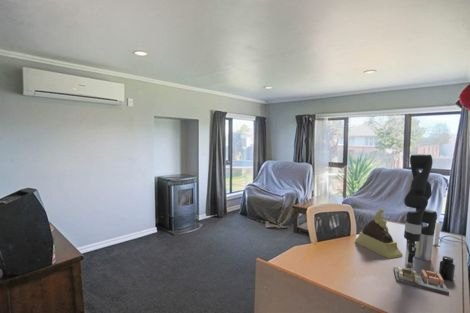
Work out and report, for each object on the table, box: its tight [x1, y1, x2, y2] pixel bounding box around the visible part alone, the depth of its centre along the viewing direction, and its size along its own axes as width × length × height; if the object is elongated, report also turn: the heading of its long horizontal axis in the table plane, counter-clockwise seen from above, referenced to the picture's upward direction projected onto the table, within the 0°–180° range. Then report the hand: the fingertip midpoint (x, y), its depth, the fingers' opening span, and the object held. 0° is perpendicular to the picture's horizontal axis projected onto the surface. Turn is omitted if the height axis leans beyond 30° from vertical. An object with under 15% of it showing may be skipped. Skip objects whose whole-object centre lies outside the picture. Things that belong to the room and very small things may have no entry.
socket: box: [420, 269, 445, 286], centre depth 146 cm, size 8×8×3 cm
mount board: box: [393, 266, 450, 296], centre depth 147 cm, size 16×23×4 cm
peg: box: [404, 248, 415, 270], centre depth 147 cm, size 4×4×10 cm
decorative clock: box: [355, 208, 404, 259], centre depth 188 cm, size 28×13×30 cm, turn 22°
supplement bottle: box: [438, 255, 456, 282], centre depth 152 cm, size 7×7×12 cm
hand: (409, 260), depth 147 cm, fingers closed on peg, 4 cm apart
